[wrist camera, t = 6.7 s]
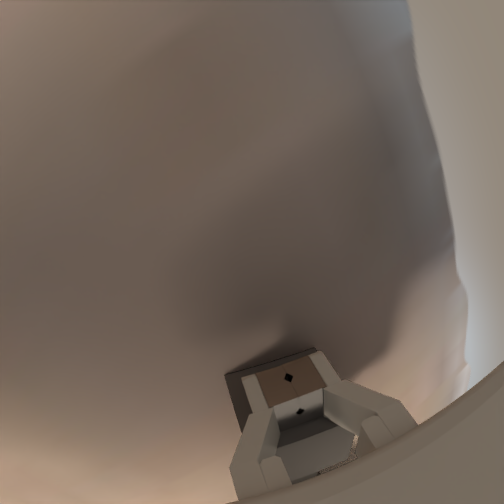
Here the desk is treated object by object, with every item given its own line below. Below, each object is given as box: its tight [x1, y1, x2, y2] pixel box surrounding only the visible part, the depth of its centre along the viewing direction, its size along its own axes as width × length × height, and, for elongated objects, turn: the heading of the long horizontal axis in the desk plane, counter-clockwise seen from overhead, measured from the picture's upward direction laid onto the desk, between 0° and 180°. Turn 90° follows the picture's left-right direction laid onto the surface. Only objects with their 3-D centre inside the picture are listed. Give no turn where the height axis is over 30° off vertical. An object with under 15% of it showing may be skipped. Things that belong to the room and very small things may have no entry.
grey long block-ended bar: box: [224, 348, 355, 485], centre depth 15 cm, size 20×4×4 cm, turn 8°
